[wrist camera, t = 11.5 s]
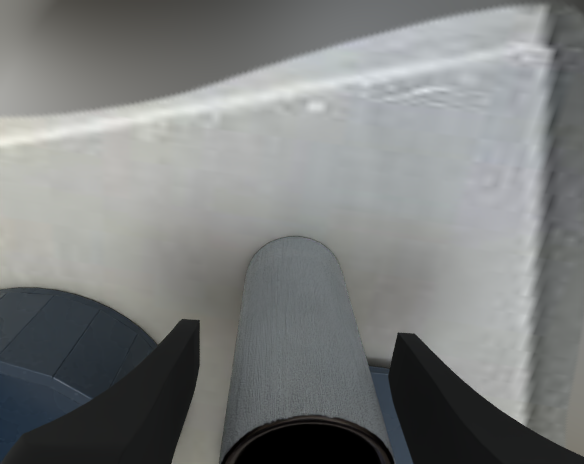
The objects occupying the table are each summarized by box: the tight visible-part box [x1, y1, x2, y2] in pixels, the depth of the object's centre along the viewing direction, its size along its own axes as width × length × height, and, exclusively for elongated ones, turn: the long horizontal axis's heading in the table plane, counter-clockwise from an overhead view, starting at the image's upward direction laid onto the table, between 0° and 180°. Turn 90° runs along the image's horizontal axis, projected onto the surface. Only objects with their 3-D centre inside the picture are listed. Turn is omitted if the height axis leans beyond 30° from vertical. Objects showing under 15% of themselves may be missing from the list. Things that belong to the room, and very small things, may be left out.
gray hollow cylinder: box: [219, 237, 395, 464], centre depth 15 cm, size 4×4×10 cm
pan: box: [0, 288, 157, 463], centre depth 20 cm, size 13×13×5 cm
